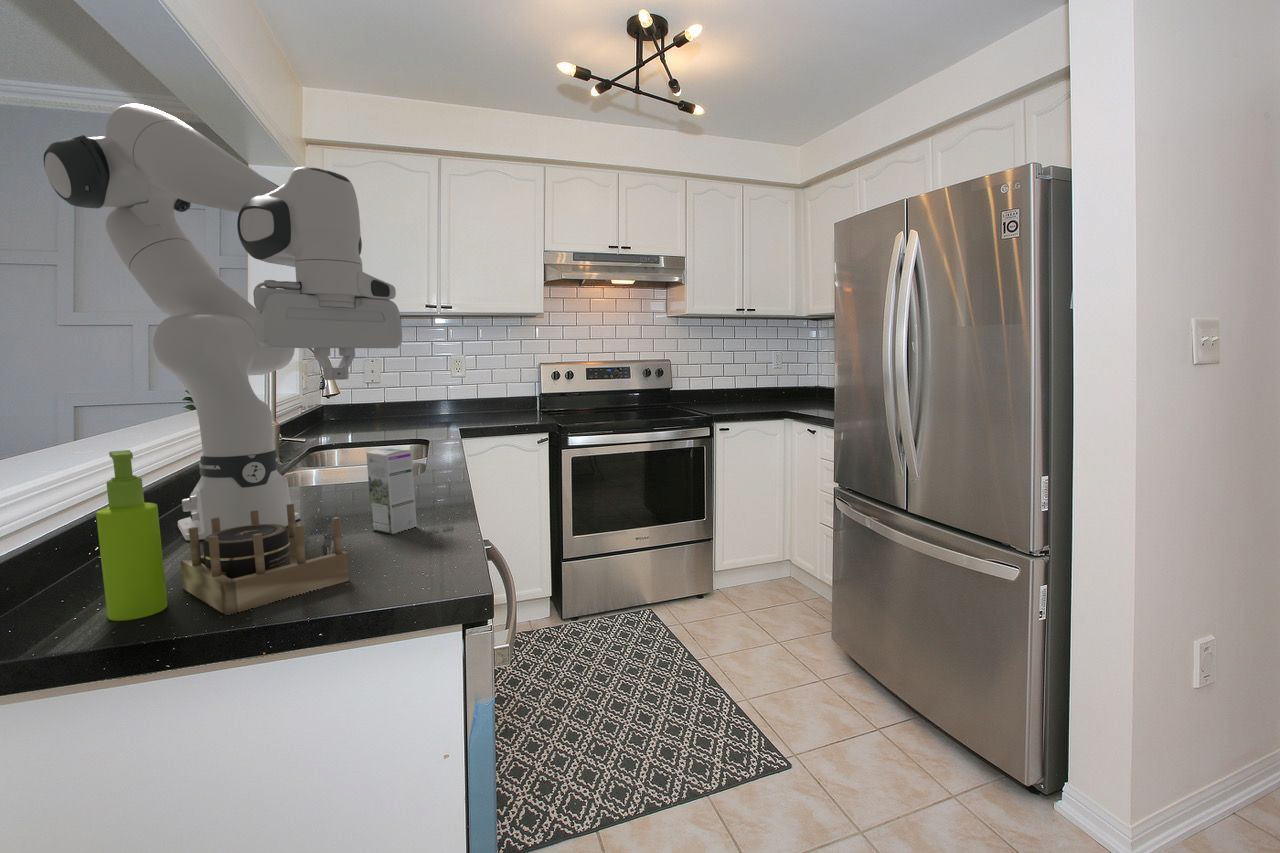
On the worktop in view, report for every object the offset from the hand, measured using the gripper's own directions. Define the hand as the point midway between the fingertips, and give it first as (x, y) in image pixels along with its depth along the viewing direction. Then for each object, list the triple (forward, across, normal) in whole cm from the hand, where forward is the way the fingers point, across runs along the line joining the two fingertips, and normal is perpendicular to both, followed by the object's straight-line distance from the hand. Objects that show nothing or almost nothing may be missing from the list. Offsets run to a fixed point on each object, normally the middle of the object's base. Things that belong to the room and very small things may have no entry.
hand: (336, 379), depth 95 cm
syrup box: (+28, +14, +11) cm, 33 cm away
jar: (+28, -13, 0) cm, 31 cm away
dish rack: (+28, -11, -1) cm, 30 cm away
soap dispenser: (+28, -25, +3) cm, 38 cm away
